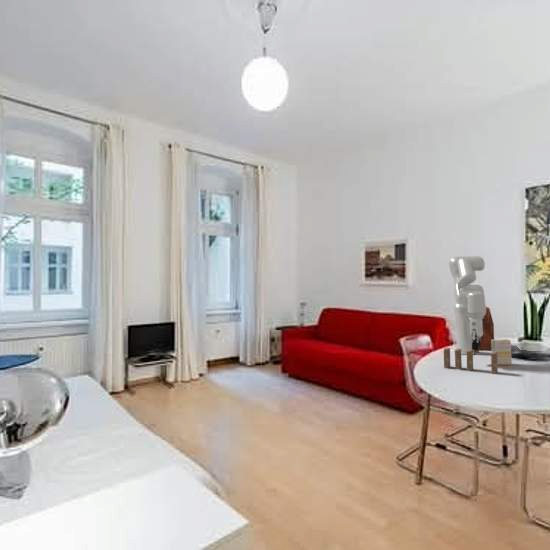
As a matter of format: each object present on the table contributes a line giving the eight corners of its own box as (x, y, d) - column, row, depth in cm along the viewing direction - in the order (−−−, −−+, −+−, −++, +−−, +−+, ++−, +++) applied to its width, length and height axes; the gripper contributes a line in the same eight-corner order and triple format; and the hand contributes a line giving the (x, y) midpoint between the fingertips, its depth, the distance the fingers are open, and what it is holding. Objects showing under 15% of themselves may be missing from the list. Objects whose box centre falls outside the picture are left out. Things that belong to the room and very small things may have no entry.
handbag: (487, 345, 261) (485, 293, 262) (494, 350, 243) (492, 294, 243) (470, 345, 264) (468, 294, 265) (476, 350, 246) (474, 295, 246)
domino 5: (491, 373, 190) (491, 353, 190) (493, 371, 194) (492, 351, 194) (496, 374, 189) (495, 353, 189) (497, 371, 193) (497, 352, 193)
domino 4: (473, 353, 208) (473, 335, 207) (475, 351, 212) (474, 333, 211) (477, 354, 207) (477, 335, 206) (479, 352, 211) (478, 333, 210)
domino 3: (467, 370, 197) (466, 351, 197) (469, 368, 201) (468, 349, 201) (471, 371, 196) (470, 351, 196) (473, 369, 200) (472, 349, 200)
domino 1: (444, 368, 203) (443, 349, 203) (446, 366, 207) (445, 347, 207) (448, 368, 202) (447, 349, 202) (450, 366, 206) (449, 347, 206)
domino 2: (455, 369, 200) (454, 350, 200) (457, 367, 204) (457, 348, 204) (459, 369, 199) (459, 350, 199) (461, 367, 203) (461, 348, 203)
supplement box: (507, 363, 210) (506, 339, 210) (511, 365, 205) (511, 340, 205) (491, 363, 211) (490, 339, 211) (495, 365, 206) (495, 340, 206)
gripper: (480, 317, 199) (481, 352, 200) (486, 313, 213) (486, 346, 214) (464, 317, 204) (465, 351, 205) (471, 312, 218) (471, 344, 218)
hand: (476, 348), depth 209 cm, fingers closed on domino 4, 4 cm apart
